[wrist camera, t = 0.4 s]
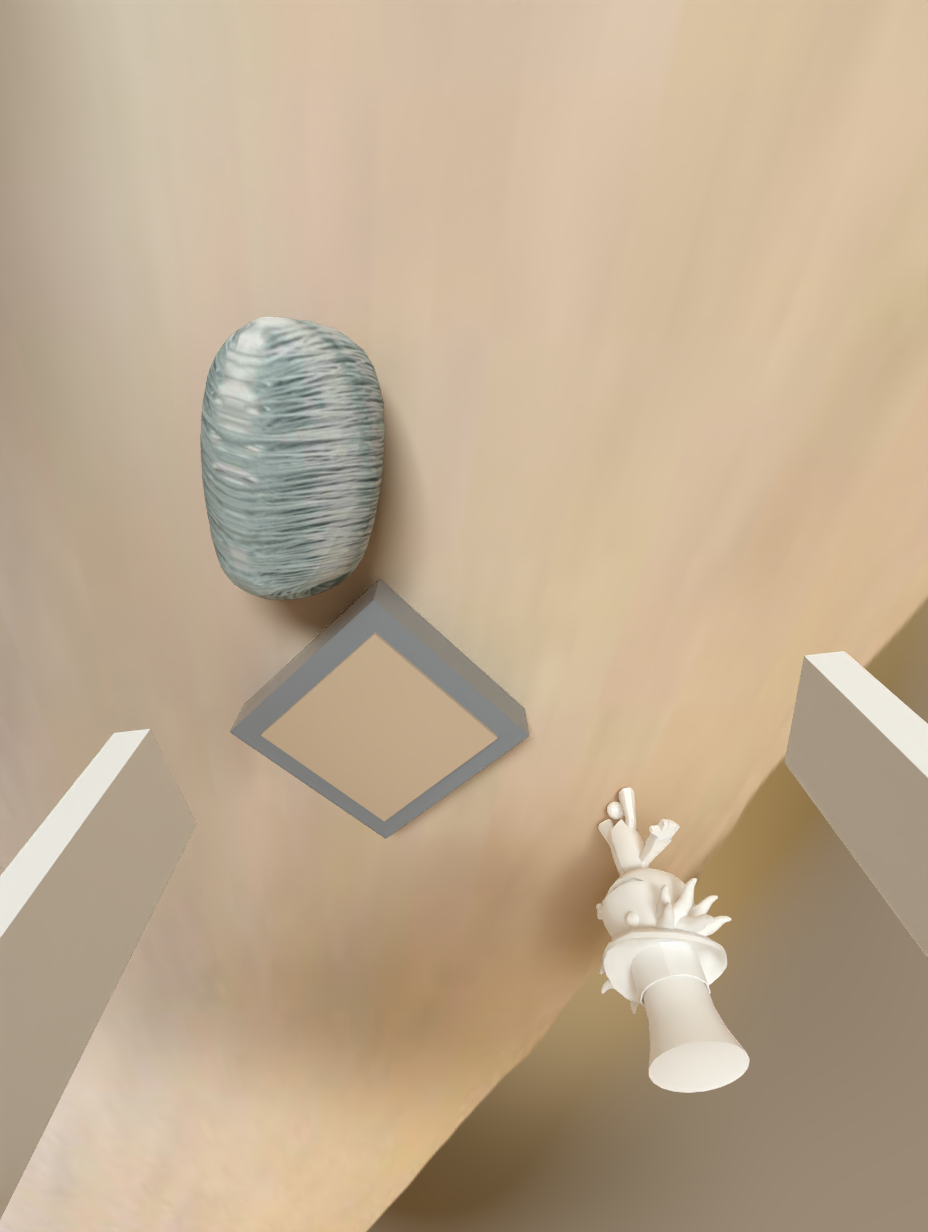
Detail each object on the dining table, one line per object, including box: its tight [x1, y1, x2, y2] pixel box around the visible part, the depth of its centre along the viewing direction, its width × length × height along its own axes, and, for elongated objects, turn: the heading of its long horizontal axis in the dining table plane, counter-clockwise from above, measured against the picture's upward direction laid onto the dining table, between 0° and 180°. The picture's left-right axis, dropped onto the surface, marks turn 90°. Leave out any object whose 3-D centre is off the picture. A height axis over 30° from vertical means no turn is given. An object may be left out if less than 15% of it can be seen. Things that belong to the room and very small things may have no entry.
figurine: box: [596, 787, 750, 1093], centre depth 38 cm, size 10×8×18 cm
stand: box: [230, 579, 529, 839], centre depth 39 cm, size 14×14×3 cm
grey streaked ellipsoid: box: [201, 317, 385, 600], centre depth 29 cm, size 14×10×10 cm
